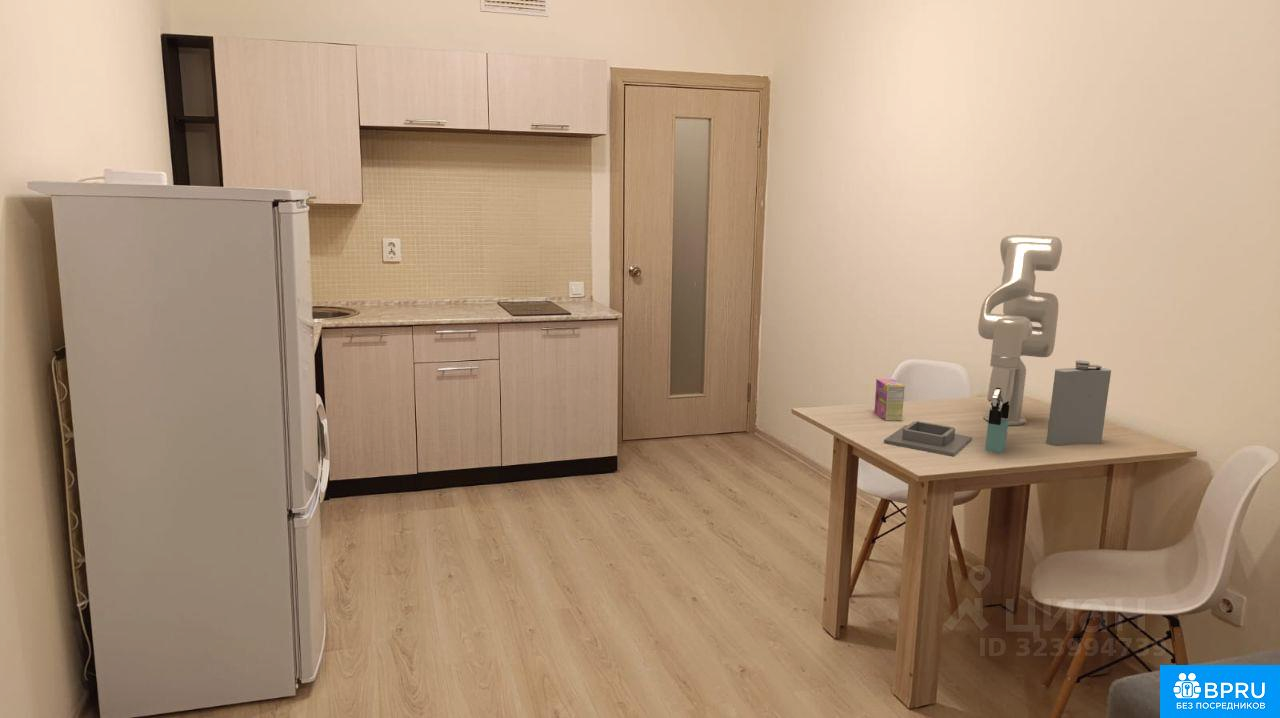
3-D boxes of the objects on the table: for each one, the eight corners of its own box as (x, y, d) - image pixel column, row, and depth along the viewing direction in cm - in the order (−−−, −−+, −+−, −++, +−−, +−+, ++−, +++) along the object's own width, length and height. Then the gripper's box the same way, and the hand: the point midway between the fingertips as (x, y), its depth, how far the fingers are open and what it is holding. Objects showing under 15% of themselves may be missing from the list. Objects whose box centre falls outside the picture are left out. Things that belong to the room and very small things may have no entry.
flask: (1092, 439, 256) (1103, 358, 251) (1103, 443, 251) (1114, 362, 246) (1041, 441, 253) (1051, 359, 248) (1051, 446, 248) (1062, 363, 243)
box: (873, 412, 281) (876, 378, 279) (890, 412, 282) (893, 378, 279) (884, 421, 271) (887, 385, 269) (902, 421, 272) (905, 385, 269)
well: (905, 428, 263) (906, 415, 262) (971, 440, 252) (972, 427, 251) (883, 443, 247) (884, 429, 246) (953, 456, 236) (955, 442, 235)
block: (988, 446, 246) (992, 417, 244) (1005, 449, 243) (1008, 419, 242) (985, 450, 242) (988, 420, 240) (1001, 453, 240) (1005, 423, 238)
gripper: (997, 356, 247) (991, 413, 250) (983, 364, 233) (977, 424, 236) (1025, 360, 242) (1018, 417, 245) (1012, 368, 228) (1005, 429, 231)
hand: (998, 420), depth 240 cm, fingers open, 9 cm apart
